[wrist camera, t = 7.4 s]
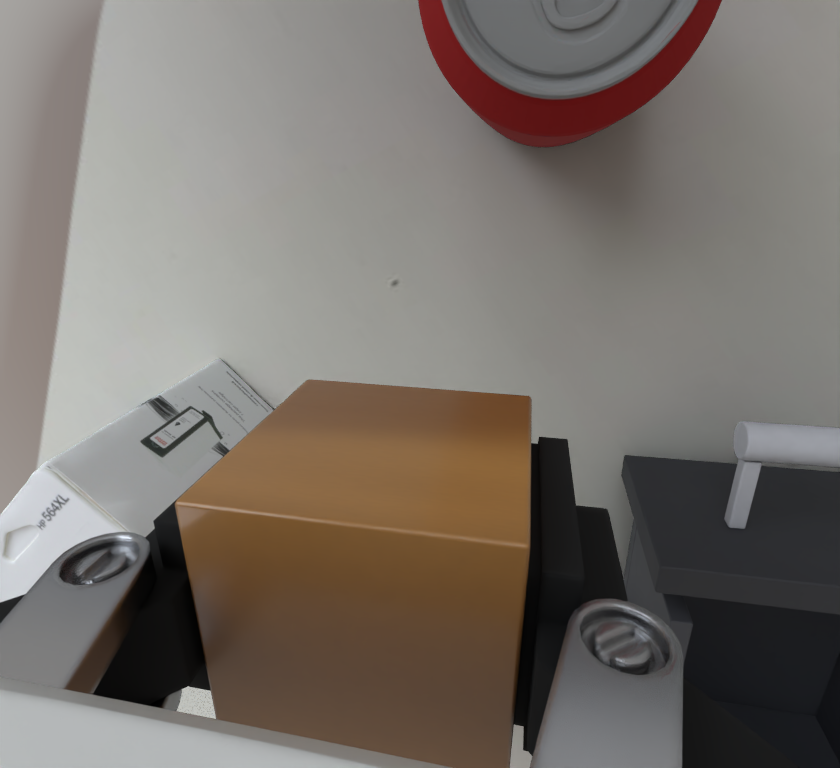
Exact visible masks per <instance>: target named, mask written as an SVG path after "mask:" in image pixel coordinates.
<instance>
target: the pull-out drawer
mask: <svg viewBox="0 0 840 768" xmlns="http://www.w3.org/2000/svg"><path fill="white" fill-rule="evenodd" d="M733 447H734V452H735V455H736V457H737V458H738V459H739V460H738V464H729V463H717V462H704V461H692V460H679V459H666V458H654V457H641V456H629V455H625V457H624V462H623V469H622V478H623V482H624V485H625V489H626V492H627V496H628V499H629V503H630V506H631V510H632V513H633V516H634V520H633V526H632V532H631V538H630V544H629V550H628V556H627V562H626V568H625V574H624V585H625V590H626V594H627V599H628V602H631V603H633V604H636V605H638V606H641V607H643V608H645V609H647V610H649V611H650V612H652V613H653V614H655V615H656V616H658V617H659V618H661V619H662V620H663V621H664V622H665V623H666V624H667V625H668V626H669V627H670V628H671V629H672V630H673V632H674V634H675V635H676V637H677V639H678V640H679V642H680V644H681V649H682V654H683V677H684V678H685V679H687V680H688V681H689V682H691V683H692V684H693V685H694V686H696V687H697V688H698V689H700V690H701V691H702V692H703V693H705V694H706V695H707V696H709V697H710V698H711V699H712V700H714V701H715V702H716V703H718V704H719V705H720V706H721V707H723V708H724V709H725V710H727V711H728V712H729V713H730V714H732V715H733V716H734V717H736V718H737V719H738V720H739V721H741V722H742V723H743V724H745V725H746V726H747V727H749V728H750V729H751V730H752V731H754V732H755V733H756V734H758V735H759V736H760V737H761V738H763V739H764V740H765V741H767V742H768V743H769V744H770V745H772V746H773V747H774V748H776V749H777V750H778V751H779V752H781V753H782V754H783V755H785V756H786V757H787V758H788V759H790V760H791V761H792V762H794V763H795V764H796V765H797V766H799V767H800V768H840V472H830V471H817V470H805V469H792V468H779V467H767V466H761V465H762V463H761V462H772V463H785V464H798V465H810V466H823V467H836V468H840V428H836V427H821V426H806V425H791V424H776V423H761V422H746V421H742V422H739V423H738V424H737V426H736V428H735V431H734V436H733Z"/></svg>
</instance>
